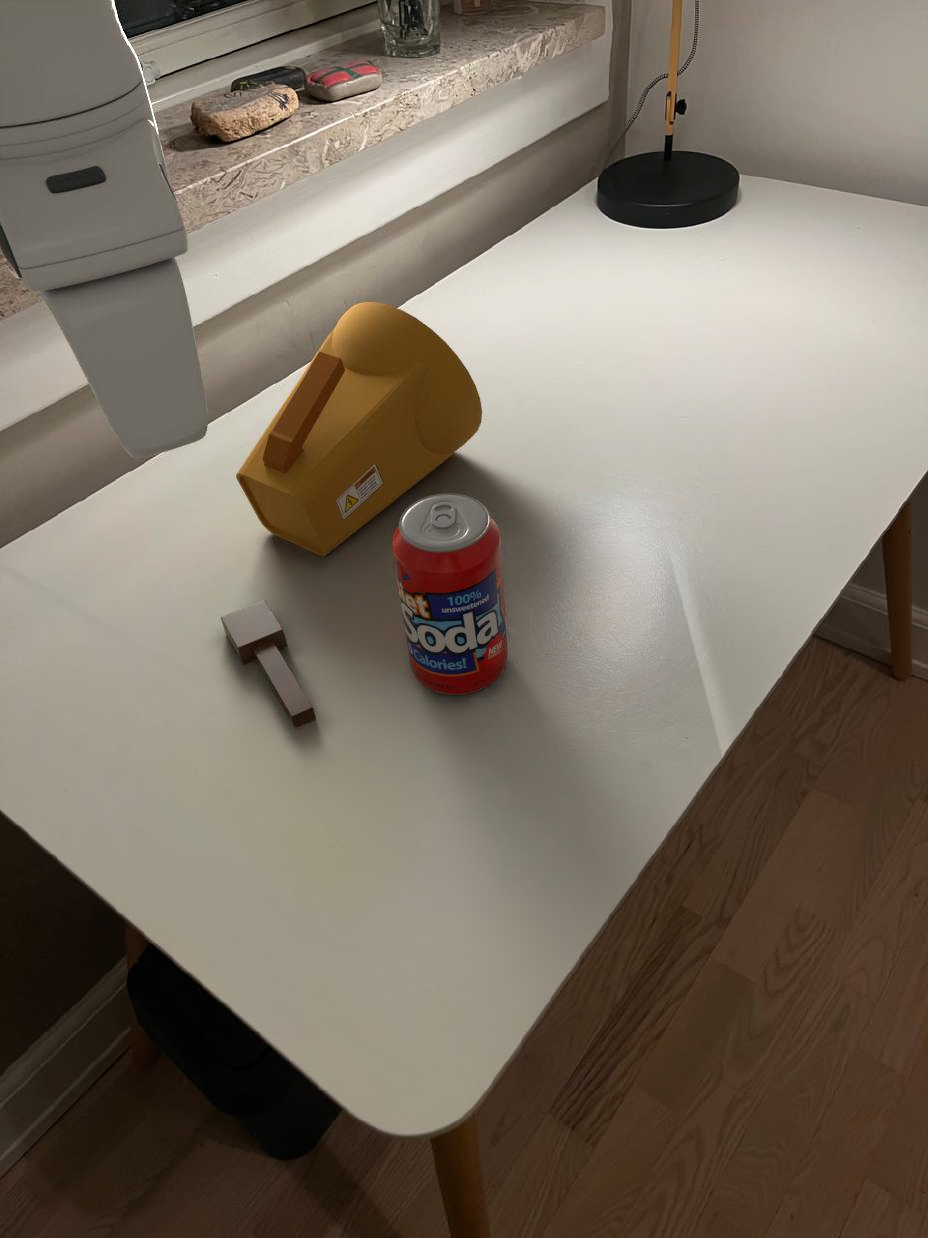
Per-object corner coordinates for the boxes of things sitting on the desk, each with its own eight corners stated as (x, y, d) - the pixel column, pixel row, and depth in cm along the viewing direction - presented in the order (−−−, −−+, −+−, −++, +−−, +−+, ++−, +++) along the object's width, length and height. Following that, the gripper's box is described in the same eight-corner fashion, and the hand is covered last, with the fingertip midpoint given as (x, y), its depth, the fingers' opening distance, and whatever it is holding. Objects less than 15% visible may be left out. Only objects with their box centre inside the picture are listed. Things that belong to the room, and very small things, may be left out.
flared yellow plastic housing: (369, 413, 111) (317, 278, 97) (497, 460, 103) (460, 320, 89) (251, 545, 104) (175, 418, 90) (379, 606, 96) (318, 478, 82)
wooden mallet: (329, 713, 80) (325, 696, 79) (281, 734, 79) (276, 717, 78) (269, 616, 89) (264, 599, 88) (225, 633, 88) (220, 616, 87)
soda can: (505, 629, 86) (496, 482, 76) (510, 699, 80) (502, 550, 70) (412, 635, 86) (390, 490, 76) (410, 705, 80) (387, 558, 70)
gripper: (-45, 116, 50) (53, 369, 60) (20, 270, 36) (134, 567, 46) (84, 89, 52) (159, 339, 61) (193, 226, 38) (268, 521, 48)
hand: (149, 438), depth 53 cm, fingers closed
